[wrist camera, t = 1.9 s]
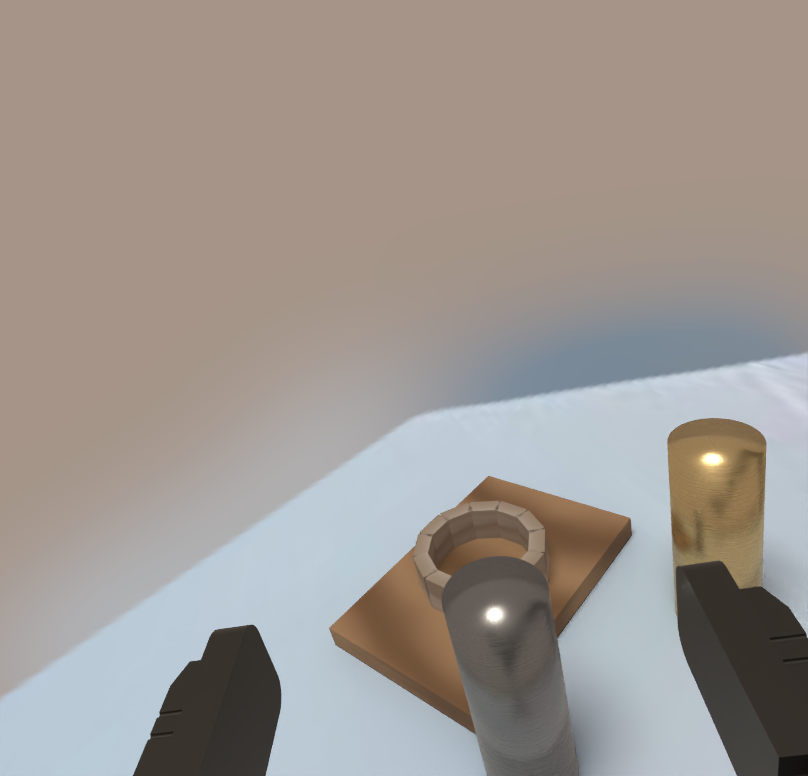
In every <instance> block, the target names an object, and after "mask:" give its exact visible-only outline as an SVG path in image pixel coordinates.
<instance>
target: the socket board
mask: <svg viewBox="0 0 808 776" xmlns="http://www.w3.org/2000/svg"><path fill="white" fill-rule="evenodd" d="M440 514H441V515H438V516H436V517H435V518H434V519H433V520H432V521H431V522H430V523H429V524H428V525H427V526H426V527H425V528H424V529H423V530H422V531H421V532H420V534H418V538H417V541H416V545H415V547H414V548H412V549H411V550H410V551H409V552H408V553H407V554H406V555H405V556H404V557H403V558H402V559H401V560H400V561H399V562H398V563H397V564H396V565H395V566H394V567H393V568H392V569H390V570H389V571H388V572H387V573H386V574H385V575H384V576H383V577H382V578H381V579H380V580H379V581H378V582H377V583H376V584H375V585H374V586H373V587H372V588H371V589H370V590H369V591H367V592H366V593H365V594H364V595H363V596H362V597H361V598H360V599H359V600H358V601H357V602H356V603H355V604H354V605H353V606H352V607H351V608H350V609H349V610H348V611H347V612H345V613H344V614H343V615H342V616H341V617H340V618H339V619H338V620H337V621H336V622H335V623H334V624H333V625H332V626H331V627H330V628H329V629H330V632H331V634H332V637H333V640H334V642H335V644H336V645H337V646H339V647H340V648H342V649H343V650H345V651H347V652H348V653H350V654H351V655H353V656H354V657H356V658H357V659H359V660H361V661H362V662H364V663H365V664H367V665H368V666H370V667H372V668H373V669H375V670H376V671H378V672H379V673H381V674H383V675H384V676H386V677H387V678H389V679H390V680H392V681H393V682H395V683H397V684H398V685H400V686H401V687H403V688H404V689H406V690H408V691H409V692H411V693H412V694H414V695H415V696H417V697H419V698H420V699H422V700H423V701H425V702H426V703H428V704H429V705H431V706H433V707H434V708H436V709H437V710H439V711H440V712H442V713H444V714H445V715H447V716H448V717H450V718H451V719H453V720H455V721H456V722H458V723H459V724H461V725H462V726H464V727H465V728H467V729H469V730H470V731H472V732H473V733H475V734H476V732H475V728H474V724H473V721H472V717H471V713H470V709H469V706H468V702H467V698H466V694H465V691H464V687H463V683H462V679H461V676H460V672H459V668H458V664H457V661H456V657H455V653H454V649H453V646H452V642H451V638H450V634H449V631H448V627H447V623H446V619H445V616H444V612H443V608H442V600H441V599H442V593H443V589H444V587H445V585H446V583H447V582H448V580H449V579H450V578H451V576H452V575H453V574H454V573H455V572H456V571H458V570H459V569H460V568H462V567H463V566H465V565H467V564H469V563H471V562H473V561H476V560H478V559H482V558H486V557H492V556H508V557H514V558H518V559H521V560H524V561H526V562H529V563H530V564H532V565H534V566H535V567H536V568H537V569H539V570H540V572H541V573H542V574H543V575H544V577H545V578H546V581H547V583H548V586H549V592H550V598H551V604H552V610H553V616H554V622H555V628H556V634H557V637H558V636H559V635H560V633H561V632H562V630H563V629H564V628H565V626H566V625H567V624H568V622H569V621H570V619H571V618H572V617H573V615H574V614H575V613H576V611H577V610H578V608H579V607H580V606H581V604H582V603H583V602H584V600H585V599H586V597H587V596H588V595H589V593H590V592H591V591H592V589H593V588H594V586H595V585H596V584H597V582H598V581H599V579H600V578H601V577H602V575H603V574H604V573H605V571H606V570H607V568H608V567H609V566H610V564H611V563H612V562H613V560H614V559H615V557H616V556H617V555H618V553H619V552H620V551H621V549H622V548H623V546H624V545H625V544H626V542H627V541H628V540H629V538H630V537H631V535H632V531H631V519H630V518H628V517H625V516H622V515H618V514H615V513H611V512H608V511H605V510H601V509H598V508H595V507H591V506H588V505H585V504H581V503H578V502H574V501H571V500H568V499H564V498H561V497H558V496H554V495H551V494H548V493H544V492H541V491H537V490H534V489H531V488H527V487H524V486H521V485H517V484H514V483H511V482H507V481H504V480H500V479H497V478H494V477H490V476H488V477H487V478H486V479H485V480H484V481H483V482H482V483H481V484H479V485H478V486H477V487H476V488H475V489H474V490H473V491H472V492H471V493H470V494H469V495H468V496H467V497H466V498H465V499H464V500H463V501H462V502H461V503H460V504H459V505H457V506H456V507H455V508H453V509H450V510H448V511H445V512H443V513H440Z"/></svg>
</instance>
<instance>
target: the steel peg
mask: <svg viewBox="0 0 808 776" xmlns="http://www.w3.org/2000/svg"><path fill="white" fill-rule="evenodd" d="M441 600H442V608H443V612H444V616H445V619H446V623H447V627H448V631H449V634H450V638H451V642H452V646H453V649H454V653H455V657H456V661H457V664H458V668H459V672H460V676H461V679H462V683H463V687H464V691H465V694H466V698H467V702H468V706H469V709H470V713H471V717H472V721H473V724H474V728H475V732H476V736H477V739H478V743H479V747H480V751H481V754H482V758H483V762H484V766H485V769H486V773H487V776H579V769H578V762H577V756H576V750H575V744H574V738H573V732H572V726H571V720H570V714H569V708H568V701H567V695H566V689H565V683H564V677H563V671H562V665H561V659H560V653H559V647H558V641H557V634H556V628H555V622H554V616H553V610H552V604H551V598H550V592H549V586H548V583H547V581H546V578H545V577H544V575H543V574H542V573H541V572H540V570H539V569H537V568H536V567H535V566H534V565H532V564H530V563H529V562H526V561H524V560H521V559H518V558H514V557H508V556H492V557H486V558H482V559H478V560H476V561H473V562H471V563H469V564H467V565H465V566H463V567H462V568H460V569H459V570H458V571H456V572H455V573H454V574H453V575H452V576H451V578H450V579H449V580H448V582H447V583H446V585H445V587H444V589H443V593H442V599H441Z"/></svg>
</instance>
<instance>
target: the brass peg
mask: <svg viewBox="0 0 808 776" xmlns="http://www.w3.org/2000/svg"><path fill="white" fill-rule="evenodd" d="M667 444H668V465H669V485H670V506H671V526H672V547H673V567H674V588H675V609H676V614H677V593H676V568H677V566H683V565H690V564H697V563H704V562H711V561H718V560H720V561H722V562H723V563H724V564H725V566H726V567H727V569H728V570H729V572H730V574H731V575H732V577H733V579H734V580H735V582H736V584H737V585H738V587H739V589H744V588H751V587H759V586H761V587H762V564H763V532H764V501H765V469H766V440H765V438H764V436H763V435H762V434H761V433H760V432H759V431H758V430H757V429H755V428H753V427H752V426H750V425H747V424H745V423H742V422H738V421H734V420H729V419H719V418H709V419H699V420H694V421H690V422H687V423H684V424H682V425H680V426H678V427H677V428H675V429H674V430H673V431H672V432H671V433H670V435H669V437H668V441H667ZM677 617H678V615H677Z"/></svg>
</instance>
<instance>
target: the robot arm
mask: <svg viewBox="0 0 808 776" xmlns="http://www.w3.org/2000/svg"><path fill="white" fill-rule="evenodd" d="M676 593H677V615H678V630H679V636H680V641H681V645H682V648H683V652H684V655H685V657H686V660H687V663H688V665H689V667H690V670H691V672H692V674H693V676H694V679H695V681H696V683H697V686H698V688H699V690H700V692H701V695H702V697H703V699H704V701H705V704H706V706H707V708H708V711H709V713H710V715H711V717H712V720H713V722H714V724H715V726H716V729H717V731H718V733H719V736H720V738H721V740H722V742H723V745H724V747H725V749H726V751H727V754H728V756H729V758H730V761H731V763H732V765H733V767H734V770H735V772H736V774H737V776H808V638H807V636H806V632H805V631H804V629H803V628H802V626H801V625H800V623H799V622H798V621H797V619H796V618H795V616H794V615H793V613H792V612H791V610H790V609H789V607H788V606H786V605H785V604H784V603H782V602H781V601H780V600H778V599H777V598H776V597H774V596H773V595H772V594H770V593H769V592H768V591H766V590H765V589H764V588H762V587H761V586H759V587H751V588H744V589H739V587H738V585H737V584H736V582H735V580H734V579H733V577H732V575H731V574H730V572H729V570H728V569H727V567H726V566H725V564H724V563H723V562H722V561H720V560H718V561H711V562H704V563H697V564H690V565H683V566H677V568H676ZM280 709H281V686H280V681H279V677H278V675H277V672H276V670H275V668H274V665H273V663H272V661H271V659H270V656H269V654H268V652H267V649H266V647H265V645H264V643H263V640H262V638H261V636H260V633H259V631H258V629H257V628H256V627H255V626H254V625H246V626H239V627H232V628H225V629H218V630H215V631H214V632H213V633H212V634H211V636H210V638H209V641H208V643H207V646H206V648H205V651H204V654H203V656H202V659H201V660H199V661H191V662H189V663H188V665H187V666H186V667H185V668H184V670H183V671H182V672H181V673H180V675H179V676H178V677H177V678H176V680H175V681H174V682H173V683H172V685H171V686H170V688H169V690H168V693H167V695H166V698H165V700H164V702H163V705H162V707H161V710H160V712H159V713H160V717H159V718H157V719H156V722H155V724H154V727H153V729H152V731H151V734H150V735H151V738H150V740H148V741H147V743H146V746H145V748H144V751H143V753H142V755H141V758H140V760H139V763H138V765H137V767H136V770H135V772H134V775H133V776H265V775H266V771H267V766H268V762H269V758H270V753H271V749H272V745H273V740H274V736H275V731H276V727H277V723H278V718H279V714H280Z"/></svg>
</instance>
